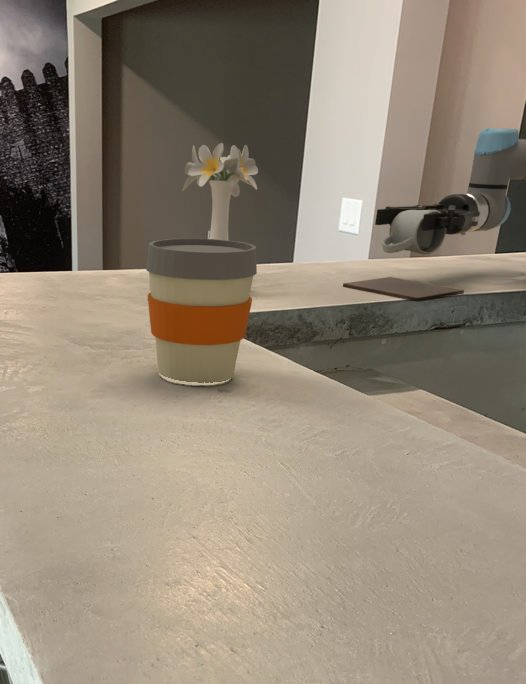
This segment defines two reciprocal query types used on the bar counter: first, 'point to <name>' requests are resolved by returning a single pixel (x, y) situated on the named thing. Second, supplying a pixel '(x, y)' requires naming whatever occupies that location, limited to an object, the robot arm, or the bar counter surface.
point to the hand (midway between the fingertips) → (400, 219)
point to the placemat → (403, 288)
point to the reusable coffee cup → (199, 305)
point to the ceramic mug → (413, 234)
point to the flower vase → (221, 180)
